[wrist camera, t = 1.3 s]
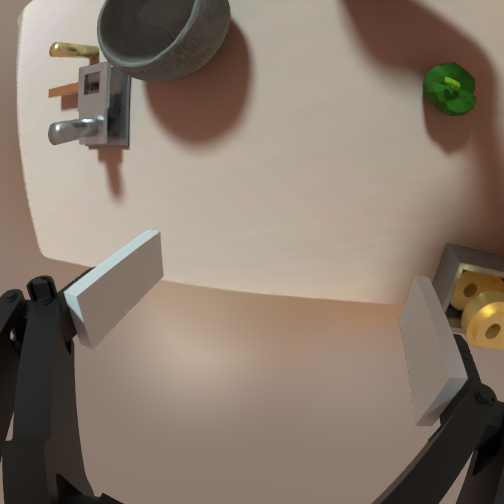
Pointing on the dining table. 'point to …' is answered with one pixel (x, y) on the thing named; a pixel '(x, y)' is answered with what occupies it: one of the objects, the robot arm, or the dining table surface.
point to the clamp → (481, 308)
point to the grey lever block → (96, 108)
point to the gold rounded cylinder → (73, 50)
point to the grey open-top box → (451, 271)
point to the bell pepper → (450, 89)
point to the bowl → (161, 35)
